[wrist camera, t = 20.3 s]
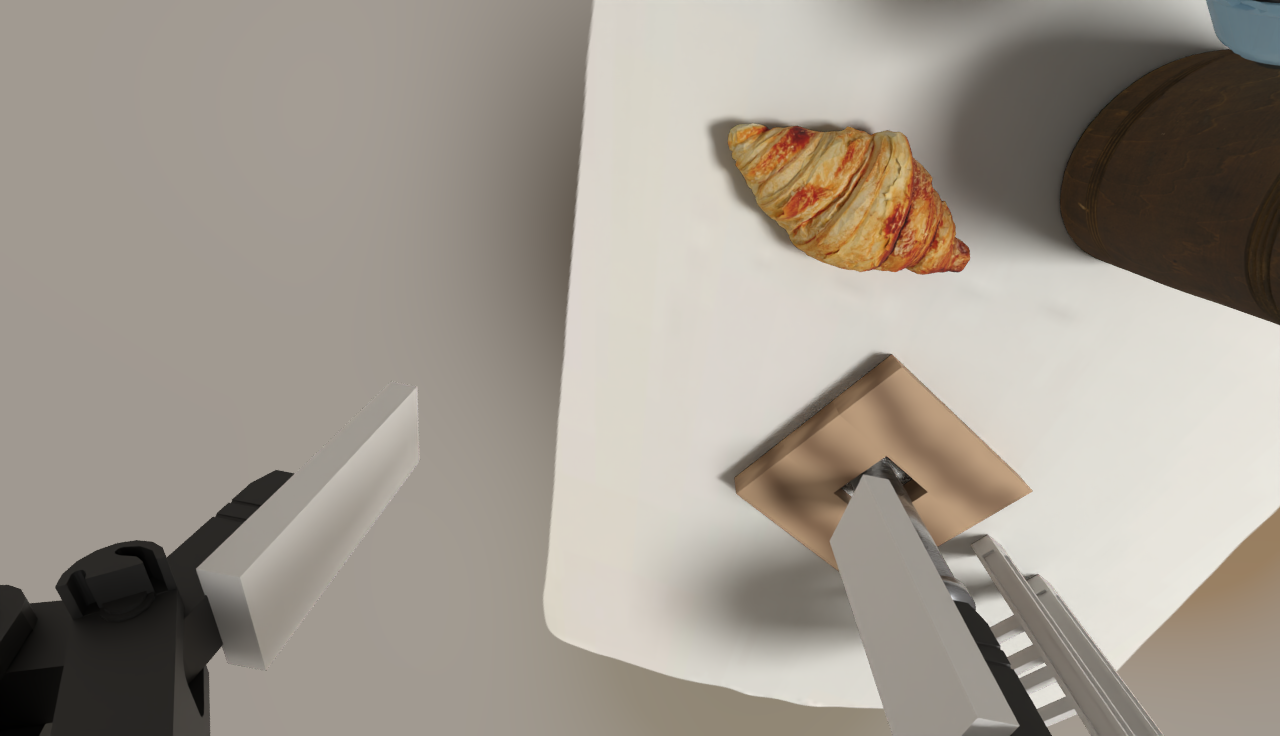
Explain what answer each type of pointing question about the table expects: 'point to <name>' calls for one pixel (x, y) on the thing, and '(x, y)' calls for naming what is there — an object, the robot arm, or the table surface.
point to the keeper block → (859, 438)
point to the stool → (1061, 653)
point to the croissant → (850, 197)
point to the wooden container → (1186, 181)
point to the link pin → (919, 530)
